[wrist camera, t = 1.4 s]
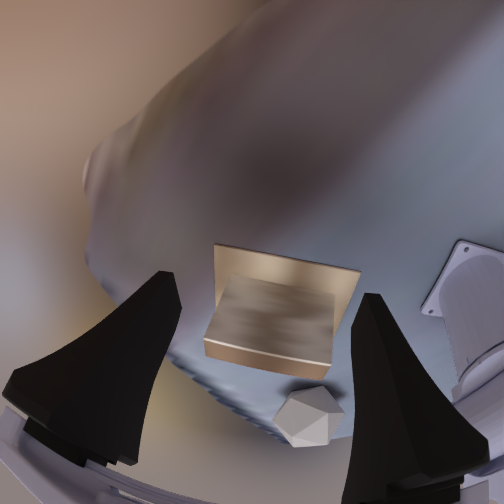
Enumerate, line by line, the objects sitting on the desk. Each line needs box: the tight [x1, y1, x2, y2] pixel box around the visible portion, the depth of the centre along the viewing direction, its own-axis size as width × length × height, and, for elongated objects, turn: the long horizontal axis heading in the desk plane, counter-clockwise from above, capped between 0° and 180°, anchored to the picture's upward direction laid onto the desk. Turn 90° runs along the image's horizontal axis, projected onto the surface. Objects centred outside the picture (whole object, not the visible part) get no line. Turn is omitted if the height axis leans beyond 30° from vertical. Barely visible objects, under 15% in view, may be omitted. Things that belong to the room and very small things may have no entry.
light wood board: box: [214, 244, 361, 337], centre depth 27 cm, size 12×16×1 cm
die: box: [272, 385, 345, 447], centre depth 32 cm, size 8×9×10 cm
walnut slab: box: [204, 274, 335, 381], centre depth 22 cm, size 9×2×7 cm, turn 86°
